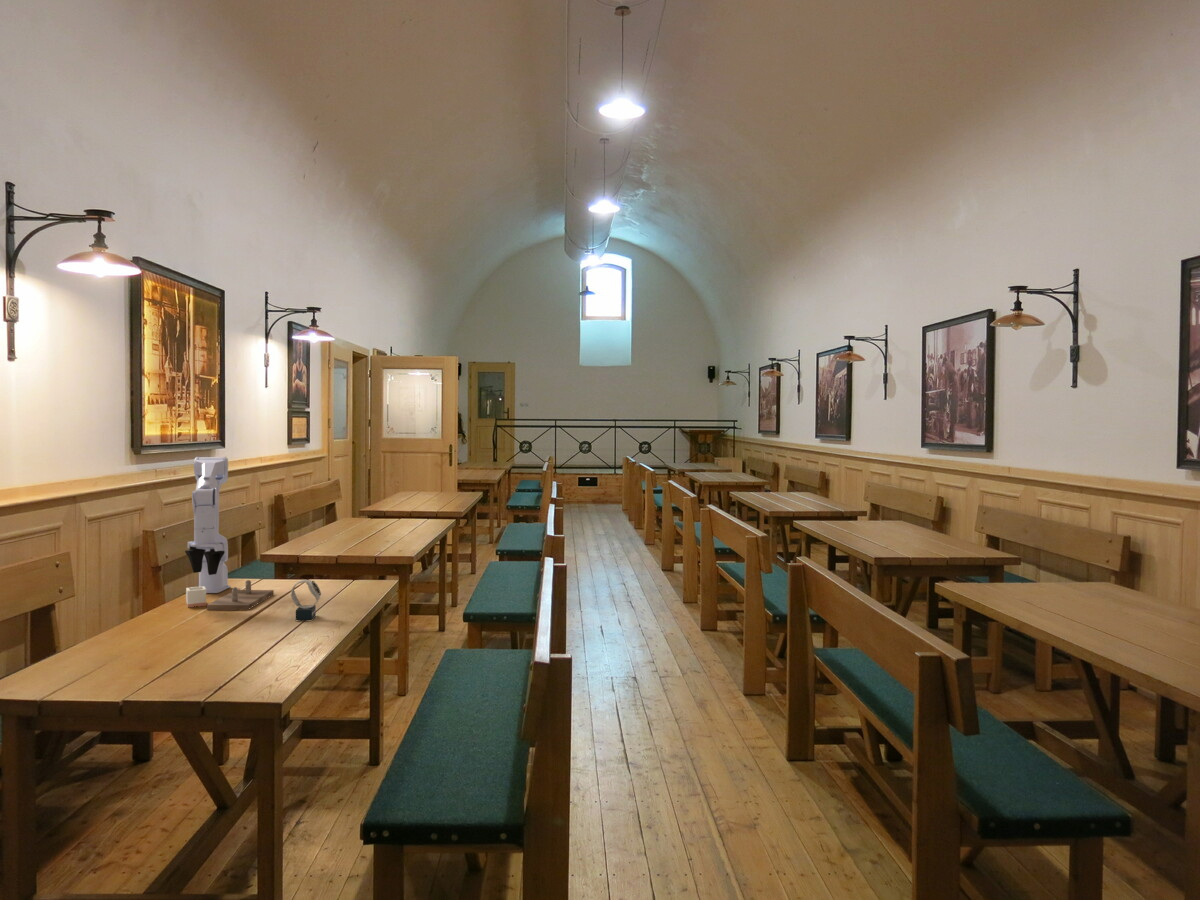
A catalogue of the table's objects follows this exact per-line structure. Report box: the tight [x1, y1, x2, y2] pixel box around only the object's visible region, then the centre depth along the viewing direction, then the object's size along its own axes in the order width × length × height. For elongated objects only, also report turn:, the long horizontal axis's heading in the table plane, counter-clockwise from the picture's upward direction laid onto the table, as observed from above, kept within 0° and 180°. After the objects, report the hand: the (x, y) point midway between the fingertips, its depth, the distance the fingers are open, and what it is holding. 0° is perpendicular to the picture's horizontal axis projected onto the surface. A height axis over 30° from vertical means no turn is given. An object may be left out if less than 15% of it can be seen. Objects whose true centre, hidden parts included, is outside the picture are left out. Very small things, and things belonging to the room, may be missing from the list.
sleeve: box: [185, 586, 207, 608], centre depth 235 cm, size 5×5×5 cm
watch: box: [290, 579, 322, 622], centre depth 222 cm, size 6×8×11 cm
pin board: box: [206, 579, 274, 611], centre depth 240 cm, size 20×12×6 cm, turn 3°
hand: (204, 573), depth 233 cm, fingers open, 7 cm apart
